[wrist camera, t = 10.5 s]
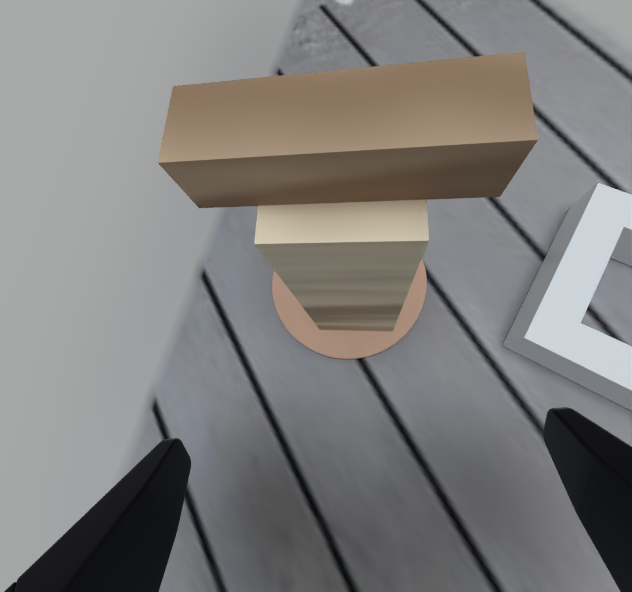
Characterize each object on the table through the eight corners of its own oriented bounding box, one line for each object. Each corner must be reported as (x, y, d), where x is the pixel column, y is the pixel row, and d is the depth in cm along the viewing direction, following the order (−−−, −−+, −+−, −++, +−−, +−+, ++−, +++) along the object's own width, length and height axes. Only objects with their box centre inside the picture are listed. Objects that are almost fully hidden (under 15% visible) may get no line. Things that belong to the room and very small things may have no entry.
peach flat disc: (378, 390, 21) (378, 390, 20) (247, 311, 23) (243, 309, 23) (452, 253, 22) (454, 250, 22) (321, 194, 25) (320, 190, 24)
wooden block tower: (422, 332, 21) (546, 192, 6) (292, 329, 22) (148, 207, 7) (419, 262, 22) (518, 11, 7) (297, 263, 23) (180, 50, 9)
